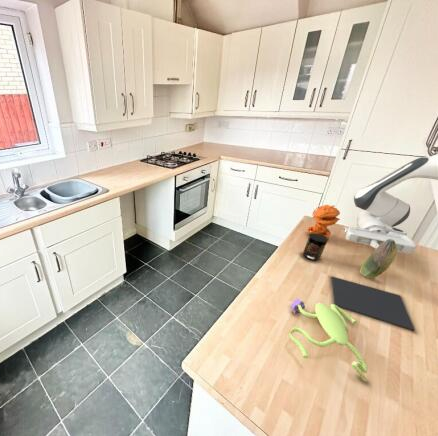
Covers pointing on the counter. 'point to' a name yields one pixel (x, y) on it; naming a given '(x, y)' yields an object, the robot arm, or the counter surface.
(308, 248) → the supplement container
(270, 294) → the counter surface
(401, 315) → the mat
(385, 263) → the vegetable
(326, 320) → the figurine
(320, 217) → the toy dinosaur
